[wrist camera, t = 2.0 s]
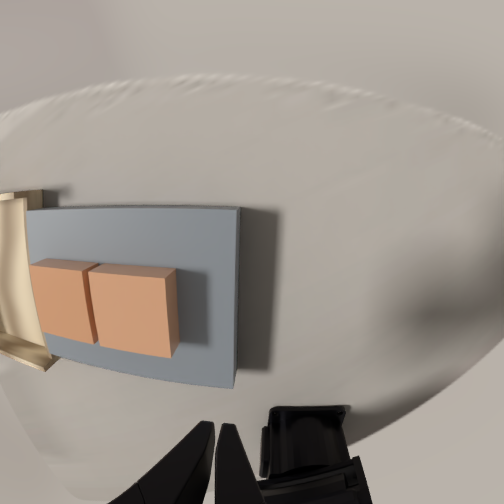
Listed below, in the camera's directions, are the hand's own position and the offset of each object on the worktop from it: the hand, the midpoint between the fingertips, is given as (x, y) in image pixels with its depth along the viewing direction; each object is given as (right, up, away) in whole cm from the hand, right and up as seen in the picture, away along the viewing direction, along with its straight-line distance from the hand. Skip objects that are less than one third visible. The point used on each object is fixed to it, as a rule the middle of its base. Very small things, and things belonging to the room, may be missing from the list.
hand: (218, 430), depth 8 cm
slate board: (-8, +3, +12) cm, 15 cm away
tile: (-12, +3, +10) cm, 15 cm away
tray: (-22, +4, +13) cm, 26 cm away
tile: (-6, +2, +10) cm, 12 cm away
